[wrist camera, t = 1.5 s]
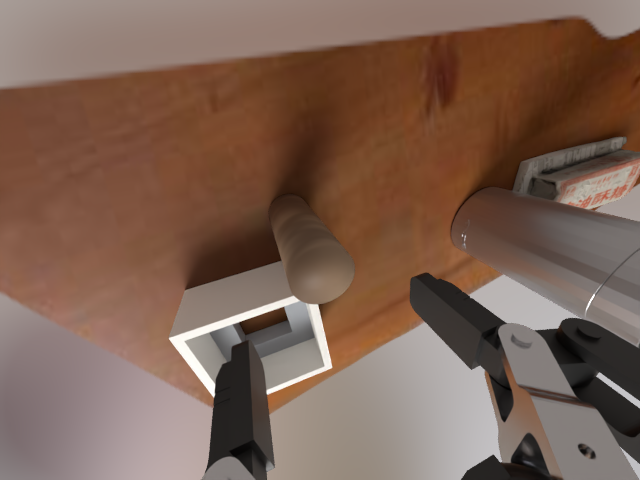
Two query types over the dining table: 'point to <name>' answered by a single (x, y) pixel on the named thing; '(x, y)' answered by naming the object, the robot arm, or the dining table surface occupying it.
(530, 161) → the packaged product
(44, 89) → the dining table surface
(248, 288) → the open box
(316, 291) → the peg
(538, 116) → the dining table surface
